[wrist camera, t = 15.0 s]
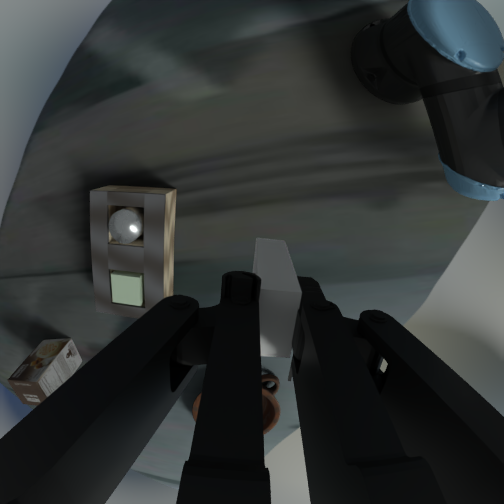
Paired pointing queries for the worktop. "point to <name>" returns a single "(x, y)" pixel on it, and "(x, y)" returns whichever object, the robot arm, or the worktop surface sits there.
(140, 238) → the socket block
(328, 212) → the worktop surface
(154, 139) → the worktop surface
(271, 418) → the dish
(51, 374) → the coffee box
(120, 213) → the metal peg
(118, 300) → the sage peg
